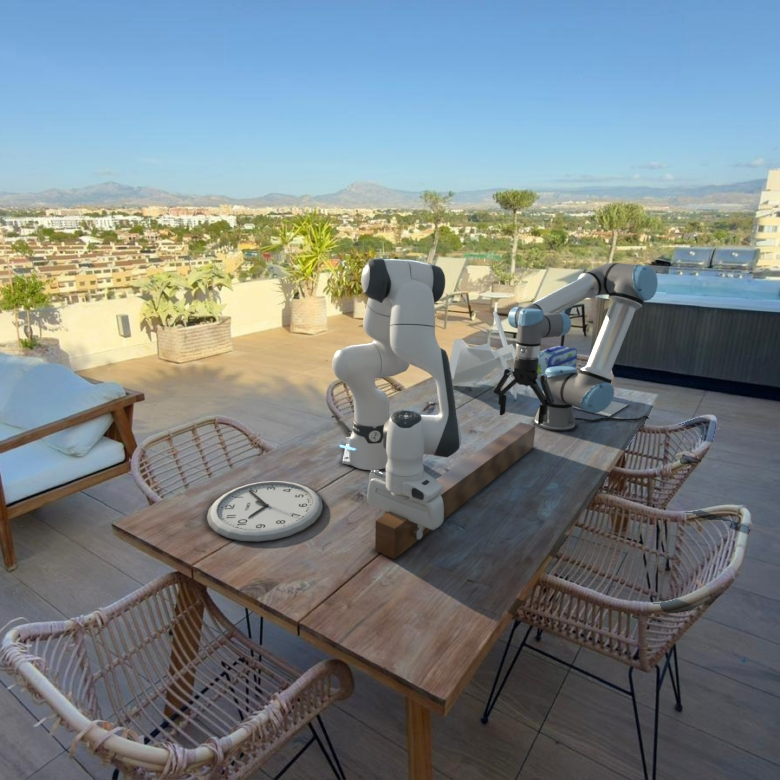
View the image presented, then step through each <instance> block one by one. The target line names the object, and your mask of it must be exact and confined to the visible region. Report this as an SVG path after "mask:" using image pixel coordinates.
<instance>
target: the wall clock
mask: <svg viewBox="0 0 780 780" xmlns="http://www.w3.org/2000/svg"><path fill="white" fill-rule="evenodd" d="M323 507H324V506H323V501H322V498H321V497H320V495H318V492H316V491H314V490H312V489H311V488H310V487H308V486H306V485H302V484H299V483H297V482H291V481H281V480H269V481H268V480H267V481H258V482H253V483H248V484H245V485H242V486H239V487H235V488H233V489H232V490H229V491H228V492H226V493H224V494H223V495H221V496H220V497H219V498H217V499H216V500H215V501H214V502H213V503H212V504H211V505H210V507H209V509H208V512H207V514H206V515H207V516H206V520H207V523H208V525H209V527H210V528H211V529H212V530H213V531H214V532H215V533H216V534H218V535H220V536H223V537H224V538H227V539H231V540H236V541H239V542H240V541H241V542H258V543H259V542H264V541H265V542H267V541H276V540H278V539H283V538H287V537H290V536H293V535H295V534H298V533H301V532H302V531H305V529H308V528H309V527H310V526H311V525H313V524H314V523H315V522H316V521H317V520H318V519H319V518H320V516H321V514H322V511H323Z"/></svg>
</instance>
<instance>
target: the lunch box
mask: <svg viewBox="0 0 780 780" xmlns="http://www.w3.org/2000/svg"><path fill="white" fill-rule="evenodd" d="M538 359H539V362H538V371H537V373H538V375H544V374H545V370H546V369H547V368H549V367H555V366H569V367H575V368H576V369H577V359H578V351H577V348H575V347H567V346H563V345H556V346H553V347H550V348H546V349H544V350H540V353H539V357H538ZM536 382H537V383H538V386H539V388H540V389H541V391H542V390H543V388H542V386H541V382H540V381H539V379H538V378H537V379H536Z"/></svg>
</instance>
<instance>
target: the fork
mask: <svg viewBox="0 0 780 780" xmlns="http://www.w3.org/2000/svg"><path fill="white" fill-rule="evenodd" d="M436 400H437V397H436V396H432V395H431V396H430V399H429V401H428V404H426V405H425V407H424V409H423V411H422V412H424V411H426V410H428V408H429V407H430V406H431V405H433V404H435V403H436Z"/></svg>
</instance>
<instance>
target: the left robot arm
mask: <svg viewBox="0 0 780 780" xmlns="http://www.w3.org/2000/svg"><path fill="white" fill-rule="evenodd" d="M360 282H361V283H360V284H361V289H362V292H363V293H364V295H365V296H366V297H367V301H366V305H365V312H364V315H363V318H362V327H363V330H364V333H366V335H367V336H369V338H371V339H373V341H372V342H369V343H361V344H353V345H348V346H345V347H343V348H339V349H338V350H336V351H335V353H333V354H334V355H333V356H332V361H331V367H332V371H333V374H334V376H335V377H336V378H337V379H338V380H339V381H341V382H343V383H344V384H345V385H346V386H347V387H348V389H349V391H350V393H351V396H352V400H353V412H354V413H353V414H354V417H353V418H354V419H353V421H352V431H349V429H348V427H347V426H346V425H345V424H344V423H343V422H342V421H341V420H340V418H338V416H337V415H336V414H332V416H331V418H332V419H333V418H334V419H335V420H336V421H337V422H338V423H339V425H341V427H342V428H343V429H344V430H345V432H346V433H347V435H348V436H346V437H345V445H343V444H339V448H342V449H344V453H343V457H342V464H344V465H347V466H351V467H353V468H357V469H360V470H365V471H370V472H369V474H368V481H369V482H368V486H367V493H366V500H367V501H366V502H367V503H368V504H369V506H372V507H374V508H377V509H379V510H380V514H381V517H382V516H383V515H385V514H386V513H388V512H392V513H394V514H397V515H399V516H402V517H404V518H407V519H408V520H409V521H411V522H414V523H416V524H417V527H418V528H419V529H416V530H415V531H414V532H413V534H414V536H413V537H414V538H416V539H418V541H419V540H421V539H422V538H423V537H422V535H423V530H424V529H425V528H428V529H431V530H430V531H435V530H437V529H438V528H439V527H441V526H442V524H443V523H444V520H445V519H444V504H443V499H442V497H441V495H440V494H439V493H440V492H441V491H442V485H441V484H440V483H439V482H438V481H436V479H435V478H434V477H432V476H431V475H430V474H429V473H427V472H426V471H425V467H424V462H423V458H424V455H429V456H434V457H441V458H450V457H451V456H452V455H454V454H455V453H457V451H458V450H460V447H461V443H462V431H461V426H460V423H459V419H458V416H457V409H456V408H457V407H456V399H455V391H454V384H453V383H452V376H451V371H450V364H449V361H450V358H449V355H448V353H447V351H446V349H444V348H443V347H441V346H440V345H439V343H438V339H437V337H436V336H437V335H436V307H435V304H436V303H437V302H439V301H440V299H442V297H443V295H444V293H445V290H446V289H445V288H446V276H445V272H444V270H443V269H442V267H440V266H438V265H436V264H433V263H429V262H428V263H426V262H421V261H417V260H411V259H393V258H392V259H391V258H387V259H384V258H382V257H379V258H371V259H369V260H368V261H367V262H366V263H365V264H364V266H363V269H362V272H361V275H360ZM410 365H411V366H413V367H416V368H418V369H420V370H422V371H424V372H426V373H428V374H429V375H430V376H431V377H432V378H433V379H434V382H435V385H436V391H437V392H436V393H437V398H438V400H437V401H438V407H439V412H438V414H435V415H434V414H421V413H419V412H417V411H415V410H412V409H399V410H396V411H394V412H392V413H391V415H390V397H389V395H388V394H387V393H386V392H385V391H384V390H381V389H379V388H377V387H376V385H375V383H376V382H375V380H376V379H383V378H390V377H395V376H397V375H399V374H402V373H404V372H407V370H408V369H409V367H410ZM384 469H385V472H384V471H380V470H384Z"/></svg>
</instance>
